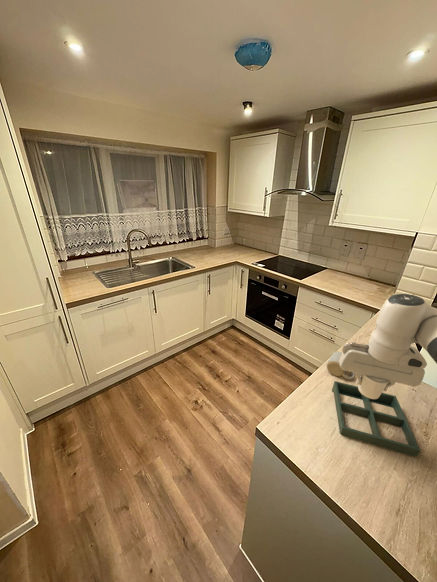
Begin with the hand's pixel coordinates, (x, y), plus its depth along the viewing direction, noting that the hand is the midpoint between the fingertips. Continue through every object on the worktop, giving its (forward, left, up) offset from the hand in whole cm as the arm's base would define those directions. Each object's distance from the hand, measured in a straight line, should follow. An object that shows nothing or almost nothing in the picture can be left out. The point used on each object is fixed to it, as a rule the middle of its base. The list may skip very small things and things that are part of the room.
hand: (371, 386), depth 71 cm
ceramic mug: (+1, -26, -18) cm, 31 cm away
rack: (-5, -4, -18) cm, 19 cm away
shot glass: (0, 0, -2) cm, 3 cm away
